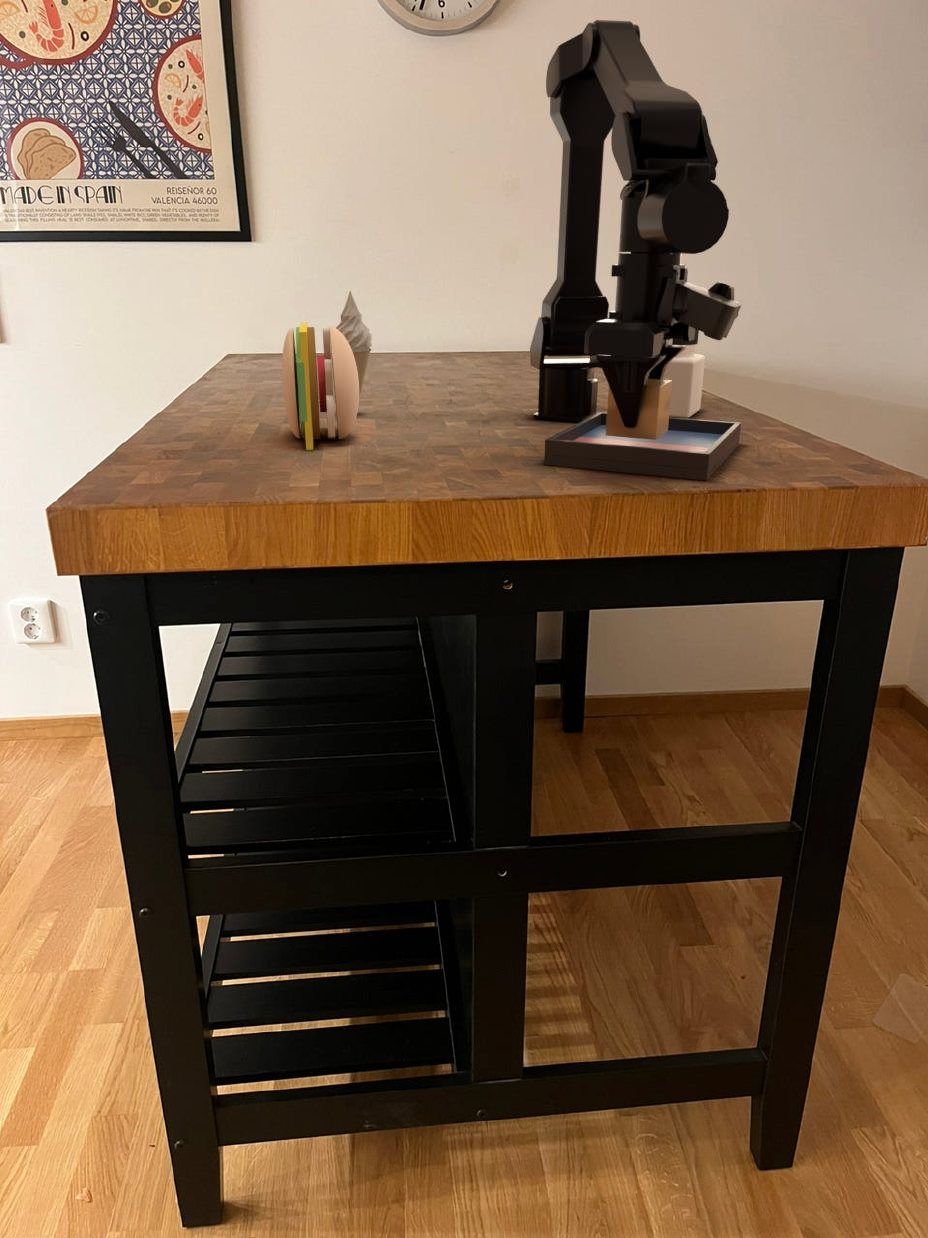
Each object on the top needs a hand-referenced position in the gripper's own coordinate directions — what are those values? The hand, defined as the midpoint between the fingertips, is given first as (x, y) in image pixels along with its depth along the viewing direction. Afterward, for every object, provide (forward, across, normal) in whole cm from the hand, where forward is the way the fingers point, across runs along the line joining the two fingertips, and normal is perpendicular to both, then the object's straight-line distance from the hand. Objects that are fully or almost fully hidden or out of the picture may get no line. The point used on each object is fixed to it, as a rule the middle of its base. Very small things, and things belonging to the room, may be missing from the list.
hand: (637, 422), depth 92 cm
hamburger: (+4, -3, +35) cm, 35 cm away
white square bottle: (+4, +31, +4) cm, 32 cm away
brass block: (+1, 0, 0) cm, 1 cm away
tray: (+4, +4, 0) cm, 6 cm away
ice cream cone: (+4, +12, +40) cm, 42 cm away
